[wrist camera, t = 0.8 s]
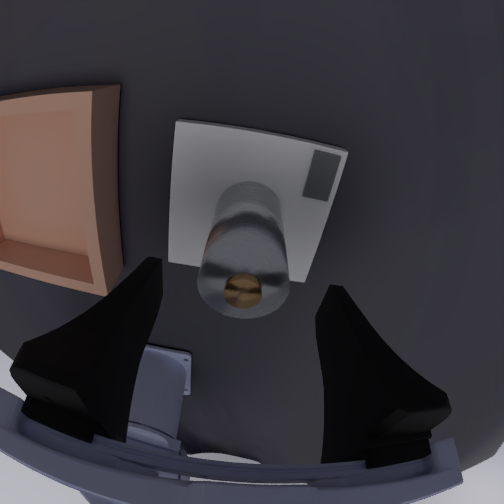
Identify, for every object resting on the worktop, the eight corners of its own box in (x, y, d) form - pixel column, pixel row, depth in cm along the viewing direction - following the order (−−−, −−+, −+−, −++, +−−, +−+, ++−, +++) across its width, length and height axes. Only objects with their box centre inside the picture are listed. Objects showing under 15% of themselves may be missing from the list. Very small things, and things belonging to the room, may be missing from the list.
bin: (123, 267, 22) (108, 297, 20) (4, 242, 21) (-15, 263, 18) (120, 84, 14) (92, 91, 12) (-19, 100, 13) (-48, 112, 10)
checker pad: (303, 275, 22) (304, 284, 22) (171, 255, 22) (167, 263, 21) (344, 148, 17) (349, 153, 16) (179, 118, 16) (174, 122, 15)
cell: (273, 242, 20) (278, 331, 14) (213, 232, 20) (193, 319, 13) (287, 187, 18) (302, 265, 11) (220, 176, 17) (198, 249, 11)
